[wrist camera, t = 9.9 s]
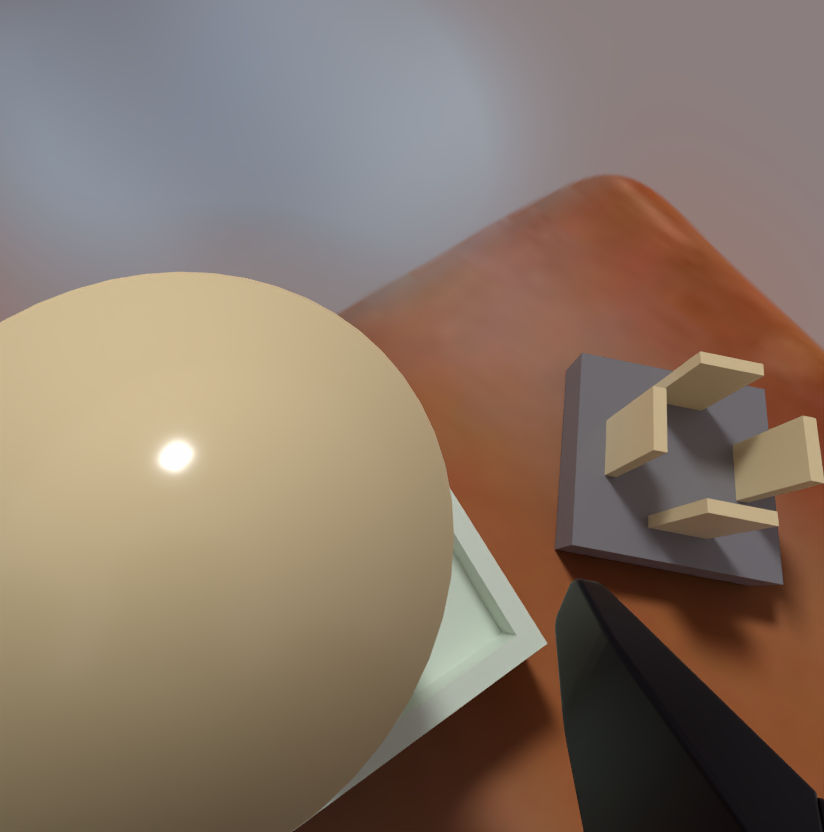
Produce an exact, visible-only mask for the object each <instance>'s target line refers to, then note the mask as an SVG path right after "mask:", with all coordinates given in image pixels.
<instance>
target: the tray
mask: <svg viewBox="0 0 824 832" xmlns="http://www.w3.org/2000/svg"><path fill="white" fill-rule="evenodd" d="M450 493H451V498H452V509H453V528H454V546H453V560H452V573H451V581H450V586H449V591H448V596H447V601H446V606H445V611H444V616H443V619H442V623H441V626H440V629H439V632H438V635H437V638H436V641H435V644H434V647H433V650H432V653H431V656H430V659H429V661H428V663H427V665H426V667H425V669H424V671H423V673H422V676H421V678H420V680H419V682H418V684H417V686H416V688H415V690H414V692H413V695H412V697H411V699H410V701H409V702H408V704H407V705H406V707H405V708H404V710H403V712H402V713H401V715H400V716H399V718H398V720H397V721H396V723H395V724H394V726H393V728H392V729H391V731H390V732H389V734H388V735H387V737H386V739H385V740H384V741H383V743H382V744H381V745H380V746H379V747H378V749H377V750H376V751H375V752H374V754H373V755H372V756H371V757H370V758H369V760H368V761H367V762H366V763H365V765H364V766H363V767H362V768H361V770H360V771H359V772H358V773H357V774H356V776H355V777H354V778H353V779H352V780H351V781H350V782H349V783H348V784H347V785H346V786H345V787H344V788H343V789H342V790H341V791H340V792H338V793H337V794H336V795H335V796H334V797H333V798H332V799H331V800H330V801H329V802H328V803H327V804H326V805H325V806H324V807H323V808H322V809H324V808H325V807H326V806H328V805H329V804H331V803H332V802H333V801H335V800H336V799H337V798H339V797H340V796H341V795H343V794H344V793H345V792H347V791H348V790H349V789H351V788H352V787H354V786H355V785H356V784H358V783H359V782H360V781H362V780H363V779H364V778H366V777H367V776H368V775H370V774H371V773H373V772H374V771H375V770H377V769H378V768H379V767H381V766H382V765H383V764H385V763H386V762H387V761H389V760H390V759H392V758H393V757H394V756H396V755H397V754H398V753H400V752H401V751H402V750H404V749H405V748H406V747H408V746H409V745H410V744H412V743H413V742H415V741H416V740H417V739H419V738H420V737H421V736H423V735H424V734H425V733H427V732H428V731H429V730H431V729H432V728H434V727H435V726H436V725H438V724H439V723H440V722H442V721H443V720H444V719H446V718H447V717H448V716H450V715H451V714H452V713H454V712H455V711H457V710H458V709H459V708H461V707H462V706H463V705H465V704H466V703H467V702H469V701H470V700H471V699H473V698H474V697H476V696H477V695H478V694H480V693H481V692H482V691H484V690H485V689H486V688H488V687H489V686H490V685H492V684H493V683H494V682H496V681H497V680H499V679H500V678H501V677H503V676H504V675H505V674H507V673H508V672H509V671H511V670H512V669H513V668H515V667H516V666H518V665H519V664H520V663H522V662H523V661H524V660H526V659H527V658H528V657H530V656H531V655H532V654H534V653H535V652H536V651H538V650H539V649H541V648H542V647H543V646H545V645H546V644H547V642H546V641H545V639H544V637H543V636H542V634H541V633H540V631H539V629H538V628H537V626H536V625H535V623H534V621H533V620H532V618H531V617H530V615H529V614H528V612H527V610H526V609H525V607H524V606H523V604H522V602H521V601H520V599H519V598H518V596H517V594H516V593H515V591H514V590H513V588H512V586H511V585H510V583H509V582H508V580H507V578H506V577H505V575H504V574H503V572H502V570H501V569H500V567H499V566H498V564H497V563H496V561H495V559H494V558H493V556H492V555H491V553H490V551H489V550H488V548H487V547H486V545H485V543H484V542H483V540H482V539H481V537H480V535H479V534H478V532H477V531H476V529H475V527H474V526H473V524H472V523H471V521H470V519H469V518H468V516H467V515H466V513H465V511H464V510H463V508H462V507H461V505H460V504H459V502H458V500H457V499H456V497H455V496H454V494H453V492H452V491H451V489H450ZM322 809H321V810H322ZM321 810H320V811H321ZM320 811H319V812H320ZM316 814H317V813H316ZM316 814H315V815H316ZM312 817H313V816H312ZM312 817H311V818H312ZM308 820H309V819H308ZM304 823H305V822H304ZM300 826H301V825H300ZM296 829H297V828H296ZM292 832H293V831H292Z"/></svg>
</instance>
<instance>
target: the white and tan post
mask: <svg viewBox="0 0 824 832" xmlns="http://www.w3.org/2000/svg"><path fill="white" fill-rule="evenodd" d="M453 546H454V528H453V509H452V498H451V493H450V487H449V482H448V476H447V471H446V466H445V463H444V460H443V456H442V453H441V450H440V447H439V444H438V441H437V438H436V435H435V432H434V430H433V428H432V426H431V424H430V422H429V420H428V417H427V415H426V413H425V411H424V409H423V407H422V405H421V403H420V401H419V400H418V398H417V397H416V395H415V394H414V392H413V390H412V389H411V387H410V386H409V384H408V383H407V381H406V380H405V378H404V376H403V375H402V374H401V373H400V372H399V371H398V369H397V368H396V367H395V366H394V365H393V363H392V362H391V361H390V360H389V359H388V358H387V356H386V355H385V354H384V353H383V352H382V351H381V350H380V349H379V348H378V347H377V346H376V345H375V344H373V343H372V342H371V341H370V340H369V339H368V338H367V337H366V336H365V335H364V334H363V333H361V332H360V331H359V330H358V329H356V328H355V327H353V326H352V325H351V324H349V323H348V322H346V321H345V320H344V319H342V318H341V317H339V316H338V315H336V314H335V313H334V312H331V311H330V310H328V309H326V308H324V307H322V306H320V305H319V304H317V303H315V302H313V301H311V300H309V299H307V298H305V297H303V296H300V295H297V294H295V293H292V292H290V291H287V290H285V289H282V288H279V287H277V286H273V285H269V284H266V283H262V282H259V281H255V280H251V279H247V278H242V277H235V276H228V275H222V274H215V273H194V272H170V273H155V274H142V275H136V276H130V277H124V278H118V279H112V280H108V281H104V282H100V283H97V284H93V285H89V286H85V287H82V288H78V289H75V290H72V291H69V292H67V293H64V294H61V295H59V296H56V297H53V298H51V299H48V300H45V301H43V302H40V303H38V304H36V305H34V306H32V307H30V308H28V309H26V310H24V311H22V312H20V313H18V314H16V315H14V316H12V317H10V318H8V319H6V320H4V321H2V322H1V323H0V832H292V831H294V830H295V829H296V828H298V827H299V826H300V825H302V824H303V823H304V822H306V821H307V820H308V819H310V818H311V817H312V816H314V815H315V814H316V813H318V812H319V811H320V810H321V809H322V808H323V807H324V806H325V805H326V804H327V803H328V802H329V801H330V800H331V799H332V798H333V797H334V796H335V795H336V794H337V793H338V792H340V791H341V790H342V789H343V788H344V787H345V786H346V785H347V784H348V783H349V782H350V781H351V780H352V779H353V778H354V777H355V776H356V774H357V773H358V772H359V771H360V770H361V768H362V767H363V766H364V765H365V763H366V762H367V761H368V760H369V758H370V757H371V756H372V755H373V754H374V752H375V751H376V750H377V749H378V747H379V746H380V745H381V744H382V743H383V741H384V740H385V739H386V737H387V735H388V734H389V732H390V731H391V729H392V728H393V726H394V724H395V723H396V721H397V720H398V718H399V716H400V715H401V713H402V712H403V710H404V708H405V707H406V705H407V704H408V702H409V701H410V699H411V697H412V695H413V692H414V690H415V688H416V686H417V684H418V682H419V680H420V678H421V676H422V673H423V671H424V669H425V667H426V665H427V663H428V661H429V659H430V656H431V653H432V650H433V647H434V644H435V641H436V638H437V635H438V632H439V629H440V626H441V623H442V619H443V616H444V611H445V606H446V601H447V596H448V591H449V586H450V581H451V573H452V560H453Z"/></svg>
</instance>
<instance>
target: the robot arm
mask: <svg viewBox="0 0 824 832" xmlns="http://www.w3.org/2000/svg"><path fill="white" fill-rule="evenodd" d="M555 634H556V645H557V657H558V668H559V680H560V691H561V702H562V713H563V722H564V730H565V736H566V742H567V747H568V753H569V758H570V763H571V768H572V773H573V778H574V784H575V789H576V794H577V799H578V804H579V809H580V815H581V820H582V825H583V830H584V832H824V799H822V798H817V794H816V792H815V791H814V790H813V789H812V788H811V787H810V786H809V785H808V784H807V783H806V782H805V781H804V780H803V779H802V778H801V777H800V776H799V775H798V774H797V773H796V772H795V771H794V770H793V769H792V768H791V767H790V766H789V765H788V764H787V763H786V762H785V761H784V760H783V759H782V758H781V757H780V756H779V755H777V754H776V753H775V752H774V751H773V750H772V749H771V748H770V747H769V746H768V745H767V744H766V743H765V742H764V741H763V740H762V739H761V738H760V737H759V736H758V735H757V734H756V733H755V732H754V731H753V730H752V729H751V728H750V727H749V726H748V725H747V724H746V723H745V722H744V721H743V720H742V719H741V718H739V717H738V716H737V715H736V714H735V713H734V712H733V711H732V710H731V709H730V708H729V707H728V706H727V705H726V704H725V703H724V702H723V701H722V700H721V699H720V698H719V697H718V696H717V695H716V694H715V693H714V692H713V691H712V690H711V689H710V688H709V687H708V686H707V685H706V684H705V683H704V682H703V681H701V680H700V679H699V678H698V677H697V676H696V675H695V674H694V673H693V672H692V671H691V670H690V669H689V668H688V667H687V666H686V665H685V664H684V663H683V662H682V661H681V660H680V659H679V658H678V657H677V656H676V655H675V654H674V653H673V652H672V651H671V650H670V649H669V648H668V647H667V646H666V645H664V644H663V643H662V642H661V641H660V640H659V639H658V638H657V637H656V636H655V635H654V634H653V633H652V632H651V631H650V630H649V629H648V628H647V627H646V626H645V625H644V624H643V623H642V622H641V621H640V620H639V619H638V618H637V617H636V616H635V615H634V614H633V613H632V612H631V611H630V610H629V609H628V608H626V607H625V606H624V605H623V604H622V603H621V602H620V601H619V600H618V599H617V598H616V597H615V596H614V595H613V594H612V593H611V592H610V591H609V590H608V589H607V588H606V587H605V586H604V585H603V584H601V583H599V582H596V581H591V580H586V579H581V578H577V579H574V580H573V581H572V582H571V584H570V586H569V588H568V591H567V593H566V595H565V598H564V600H563V602H562V605H561V607H560V609H559V612H558V614H557V617H556V623H555Z"/></svg>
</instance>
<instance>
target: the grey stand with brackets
mask: <svg viewBox="0 0 824 832" xmlns="http://www.w3.org/2000/svg"><path fill="white" fill-rule="evenodd" d="M763 376H764V370H763V364H760V363H755V362H750V361H745V360H740V359H735V358H730V357H725V356H720V355H715V354H710V353H705V352H699V353H698V354H696V355H695V356H693V357H692V358H691V359H689V360H688V361H687V362H685V363H684V364H683V365H681V366H680V367H679V368H677V369H676V370H674V371H670V370H665V369H660V368H655V367H650V366H645V365H640V364H635V363H630V362H625V361H620V360H615V359H610V358H605V357H600V356H595V355H590V354H585V353H581V355H580V356H579V357H578V358H577V359H576V360H575V361H574V362H573V364H572V365H571V366H570V367H569V368H568V369H567V370H566V384H565V399H564V415H563V431H562V447H561V462H560V478H559V494H558V509H557V525H556V541H555V549H556V550H561V551H566V552H572V553H577V554H582V555H588V556H593V557H598V558H603V559H609V560H614V561H619V562H625V563H630V564H635V565H641V566H646V567H651V568H657V569H662V570H667V571H672V572H678V573H683V574H688V575H694V576H699V577H704V578H710V579H715V580H720V581H726V582H731V583H736V584H742V585H747V586H762V585H783V576H782V566H781V555H780V545H779V535H778V526H779V523H778V512H776V504H775V496H776V495H780V494H784V493H788V492H792V491H796V490H800V489H804V488H808V487H811V486H815V485H819V484H823V483H824V476H823V468H822V461H821V453H820V446H819V439H818V431H817V424H816V418H812V417H807V416H801V417H799V418H796V419H794V420H791V421H789V422H787V423H784V424H782V425H780V426H777V427H775V428H772V429H770V430H768V421H767V411H766V401H765V391H764V389H760V388H755V387H750V386H747V385H748V384H750V383H752V382H754V381H756V380H757V379H759V378H761V377H763Z"/></svg>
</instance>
